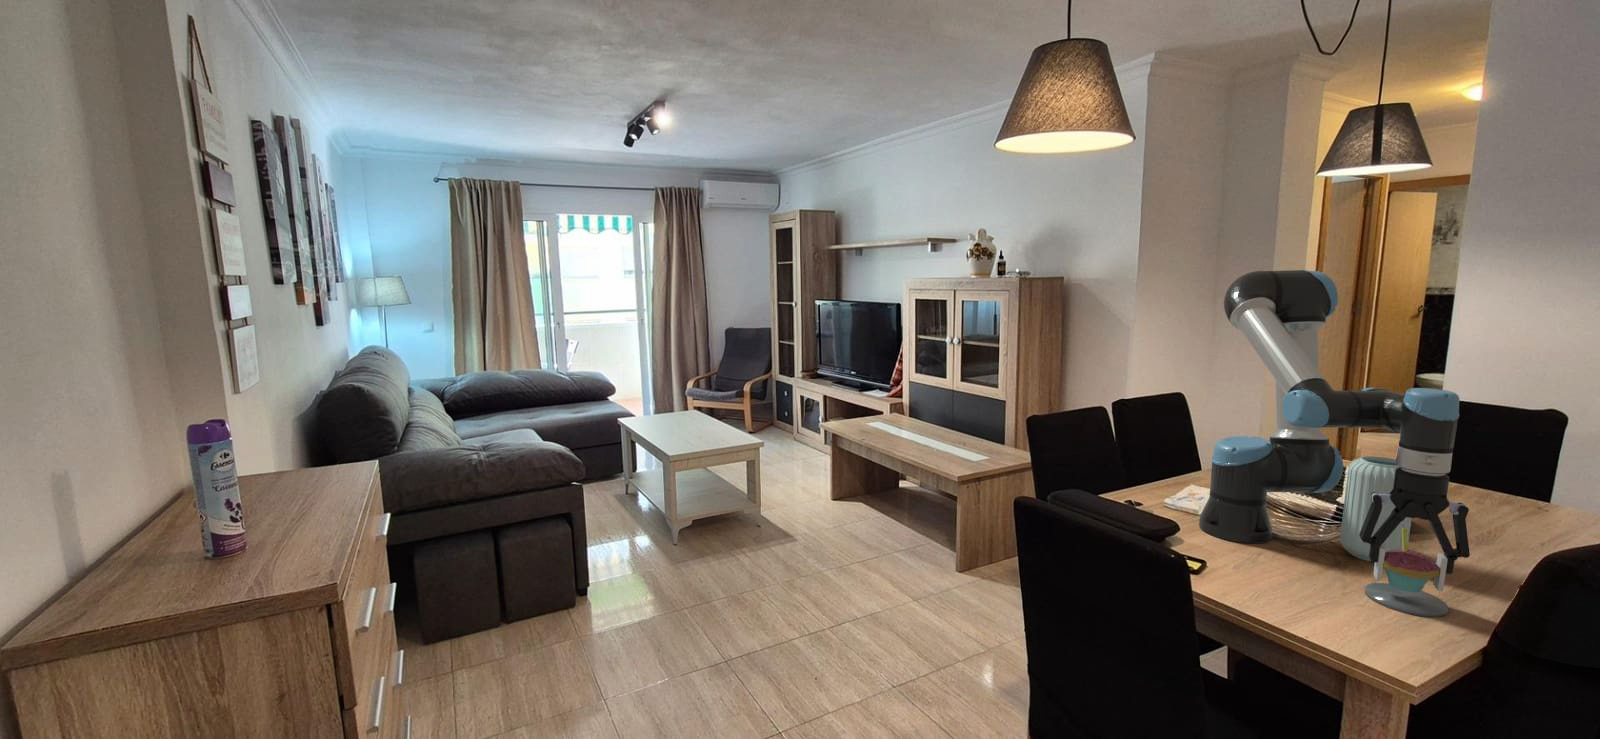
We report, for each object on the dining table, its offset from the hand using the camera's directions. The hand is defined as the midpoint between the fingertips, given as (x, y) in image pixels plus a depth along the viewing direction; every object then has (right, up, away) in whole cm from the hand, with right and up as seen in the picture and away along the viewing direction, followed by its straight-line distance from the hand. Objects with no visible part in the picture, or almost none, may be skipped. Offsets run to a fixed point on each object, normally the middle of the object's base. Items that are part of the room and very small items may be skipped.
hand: (1407, 582), depth 129 cm
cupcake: (0, -1, 0) cm, 1 cm away
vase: (+11, -1, +21) cm, 23 cm away
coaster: (0, -4, 0) cm, 4 cm away
